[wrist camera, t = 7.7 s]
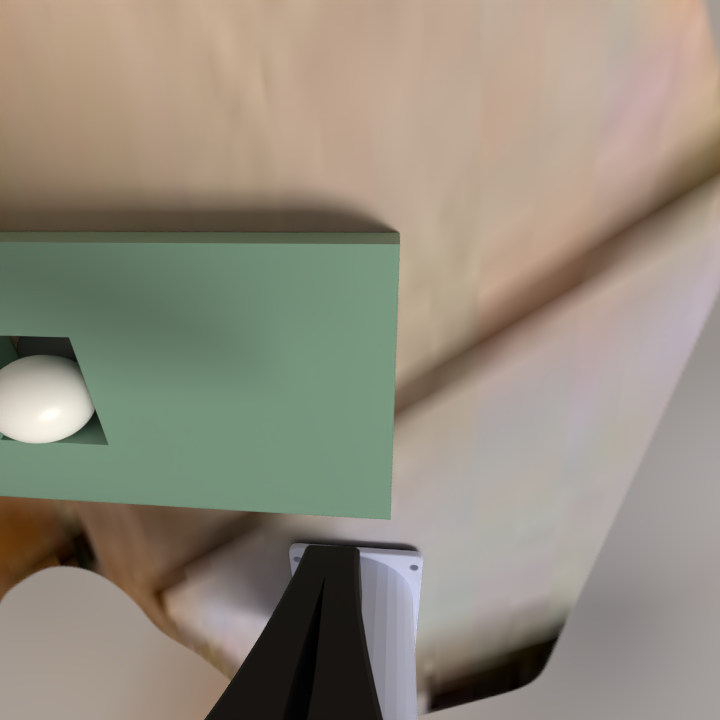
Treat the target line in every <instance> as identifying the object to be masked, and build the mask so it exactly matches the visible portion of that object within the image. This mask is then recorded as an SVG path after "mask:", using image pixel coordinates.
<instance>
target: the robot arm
mask: <svg viewBox="0 0 720 720" xmlns="http://www.w3.org/2000/svg"><path fill="white" fill-rule="evenodd" d="M289 557H290V565H291V572H292V579H291V581H290V583H289V585H288V587H287V589H286V591H285V592H284V594H283V596H282V598H281V600H280V602H279V604H278V605H277V607H276V609H275V611H274V612H273V614H272V616H271V618H270V619H269V621H268V623H267V625H266V627H265V628H264V630H263V632H262V633H261V635H260V637H259V638H258V640H257V642H256V643H255V645H254V646H253V648H252V650H251V651H250V653H249V654H248V656H247V658H246V659H245V661H244V662H243V664H242V665H241V667H240V669H239V670H238V672H237V673H236V675H235V676H234V678H233V679H232V681H231V682H230V684H229V685H228V687H227V688H226V690H225V691H224V693H223V694H222V696H221V697H220V699H219V700H218V701H217V703H216V704H215V706H214V707H213V709H212V710H211V711H210V713H209V714H208V715H207V717H206V718H205V720H417V693H416V665H415V643H416V632H417V621H418V610H419V599H420V588H421V577H422V566H423V557H422V554H421V553H419V552H417V551H407V550H393V549H378V548H363V547H348V546H333V545H318V544H303V543H294V544H292V545H291V546H290V550H289Z"/></svg>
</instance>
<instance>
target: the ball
mask: <svg viewBox="0 0 720 720" xmlns="http://www.w3.org/2000/svg"><path fill="white" fill-rule="evenodd" d="M94 411H95V406H94V404H93V401H92V398H91V396H90V393H89V390H88V387H87V385H86V382H85V379H84V377H83V374H82V371H81V368H80V366H79V364H77V363H76V362H74V361H72V360H69V359H67V358H64V357H60V356H55V355H34V356H28V357H24V358H21V359H18V360H16V361H14V362H12V363H10V364H8V365H7V366H5V367H3V368H2V369H1V370H0V432H1V433H2V434H4V435H6V436H8V437H10V438H12V439H14V440H17V441H21V442H25V443H49V442H54V441H58V440H61V439H64V438H66V437H68V436H70V435H72V434H74V433H75V432H77V431H78V430H80V429H81V428H82V427H83V426H84V425H85V424H86V423H87V422H88V421H89V419H90V418H91V416H92V415H93V413H94Z"/></svg>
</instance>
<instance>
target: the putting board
mask: <svg viewBox="0 0 720 720" xmlns="http://www.w3.org/2000/svg"><path fill="white" fill-rule="evenodd" d="M399 251H400V235H399V233H377V232H20V231H0V370H1V369H2V368H3V367H5V366H7V365H8V364H10V363H12V362H14V361H16V360H18V359H21V358H24V357H28V356H34V355H55V356H60V357H64V358H67V359H69V360H72V361H74V362H76V363H77V364H79V366H80V368H81V371H82V374H83V377H84V379H85V382H86V385H87V387H88V390H89V393H90V396H91V398H92V401H93V404H94V406H95V411H94V412H97V413H93V415H92V416H91V418H90V419H89V421H88V422H87V423H86V424H85V425H84V426H83V427H82V428H81V429H80V430H78V431H77V432H75V433H74V434H72V435H70V436H68V437H66V438H64V439H61V440H58V441H54V442H49V443H25V442H21V441H17V440H14V439H12V438H10V437H8V436H6V435H4V434H2V433H1V432H0V496H10V497H27V498H43V499H59V500H76V501H92V502H108V503H125V504H141V505H157V506H174V507H190V508H206V509H223V510H239V511H255V512H272V513H288V514H305V515H321V516H337V517H354V518H370V519H386V520H390V517H391V488H392V458H393V429H394V399H395V369H396V340H397V310H398V281H399ZM9 336H20V337H19V340H18V346H17V352H18V355H17V352H16V350H15V348H14V346H13V343H12V341H11V339H10V337H9Z"/></svg>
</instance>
